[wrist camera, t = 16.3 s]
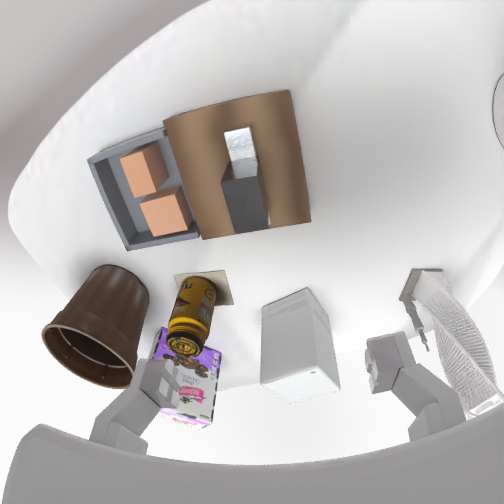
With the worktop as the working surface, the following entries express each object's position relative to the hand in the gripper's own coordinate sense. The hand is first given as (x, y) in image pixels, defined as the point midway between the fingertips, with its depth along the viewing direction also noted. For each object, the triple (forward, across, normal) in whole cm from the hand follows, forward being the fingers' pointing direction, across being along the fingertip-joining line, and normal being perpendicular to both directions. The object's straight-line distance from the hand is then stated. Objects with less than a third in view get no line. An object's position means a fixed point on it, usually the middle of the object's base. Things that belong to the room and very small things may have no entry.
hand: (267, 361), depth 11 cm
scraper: (+24, +2, 0) cm, 24 cm away
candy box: (+27, +23, +34) cm, 49 cm away
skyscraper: (+27, -24, +25) cm, 44 cm away
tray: (+27, +16, 0) cm, 31 cm away
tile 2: (+24, +12, -3) cm, 27 cm away
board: (+27, +3, 0) cm, 27 cm away
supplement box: (+27, 0, +27) cm, 38 cm away
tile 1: (+26, +14, +3) cm, 30 cm away
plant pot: (+27, +30, +17) cm, 44 cm away
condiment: (+27, +14, +19) cm, 36 cm away
